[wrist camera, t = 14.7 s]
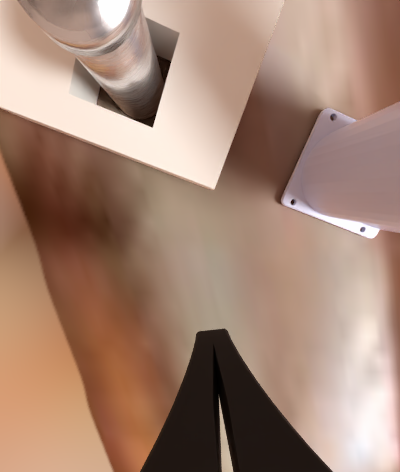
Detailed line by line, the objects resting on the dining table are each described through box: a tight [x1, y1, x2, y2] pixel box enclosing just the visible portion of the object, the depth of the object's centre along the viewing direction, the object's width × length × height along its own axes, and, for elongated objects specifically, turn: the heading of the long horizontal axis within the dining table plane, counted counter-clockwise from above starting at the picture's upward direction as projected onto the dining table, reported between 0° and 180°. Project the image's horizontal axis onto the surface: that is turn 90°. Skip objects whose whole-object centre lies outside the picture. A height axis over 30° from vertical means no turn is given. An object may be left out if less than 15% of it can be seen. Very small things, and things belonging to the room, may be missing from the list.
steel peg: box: [17, 0, 165, 119], centre depth 10 cm, size 5×5×8 cm
